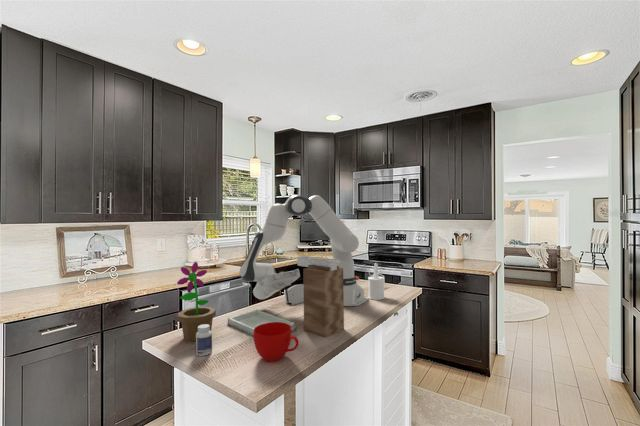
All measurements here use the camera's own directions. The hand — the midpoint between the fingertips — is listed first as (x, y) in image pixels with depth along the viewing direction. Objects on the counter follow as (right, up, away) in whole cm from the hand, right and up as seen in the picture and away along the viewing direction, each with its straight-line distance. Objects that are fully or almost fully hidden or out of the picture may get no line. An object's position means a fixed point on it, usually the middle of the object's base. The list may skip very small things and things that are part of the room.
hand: (290, 271), depth 148 cm
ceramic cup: (-1, -22, -40) cm, 46 cm away
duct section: (+12, +4, -12) cm, 18 cm away
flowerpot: (-36, -23, -21) cm, 47 cm away
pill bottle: (-28, -23, -35) cm, 50 cm away
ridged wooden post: (+16, -22, -14) cm, 31 cm away
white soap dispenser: (+47, -21, +33) cm, 61 cm away
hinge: (+2, -22, +29) cm, 37 cm away
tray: (-12, -22, -10) cm, 27 cm away
